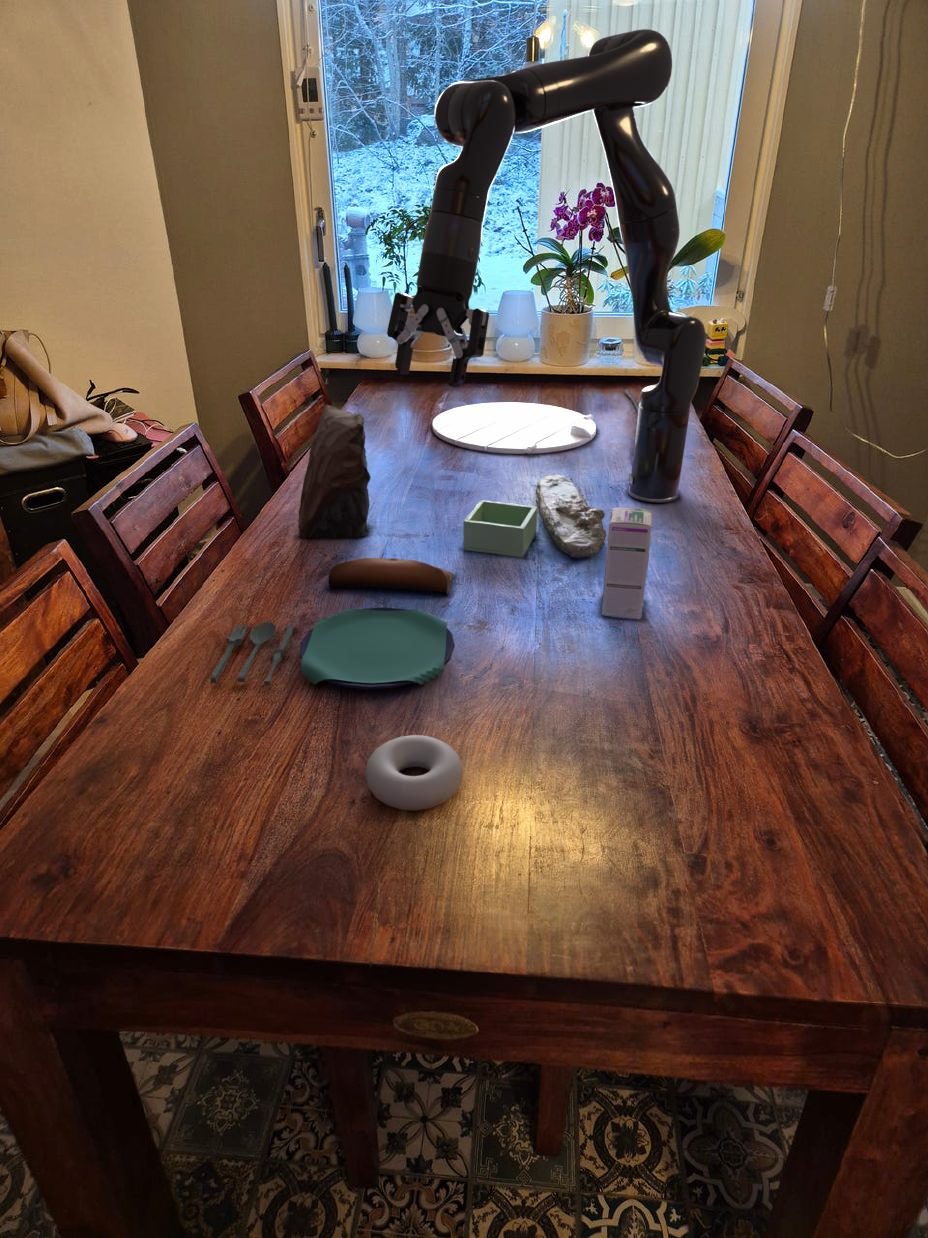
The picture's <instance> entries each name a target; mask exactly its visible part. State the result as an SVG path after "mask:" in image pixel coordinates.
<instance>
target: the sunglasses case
mask: <svg viewBox="0 0 928 1238" xmlns="http://www.w3.org/2000/svg"><path fill="white" fill-rule="evenodd" d="M453 575H454V574H453V573H452V572H451V571H448V570H446V569H444V568H441V567H437V566H434V565H432V564H429V563H426V562H424V561H419V560H414V559H401V558H396V557H391V558H388V557H387V558H386V557H364V558H355V559H352V560H351V559H350V560H347V561H343V562H339V563H336V564H334V565H333V566H331V568H330V570H329V573H328V581H327V584H328V587H329V589H330V588H357V587H361V588H368V587H374V588H383V589H402V590H409V591H410V590H411V591H426V592H427V591H428V592H439V593H445V594H446V595H449V594H450V591H451V588H452V587H451V586H452V583H453V579H454V578H453Z"/></svg>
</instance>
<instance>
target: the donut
mask: <svg viewBox="0 0 928 1238" xmlns="http://www.w3.org/2000/svg"><path fill="white" fill-rule="evenodd" d="M408 768H409V769H410V768H421V769H426V770H427V771H428V772H425V773H424V774H421V775H406V774H403V773H401V771H402V770H405V769H408ZM364 771H365V772H364V775H365V780H366V784H367V788H368V789H369V791H370V792H371V793H372V794H373V796H374V797H375V798H376V799H377V800H378V801H380V802H382V803H383V804H384V805H386V806H388V807H392V808H394V809H398V810H401V811H421V810H422V811H423V810H428V809H431V808H434V807H437V806H439V805H442V804H443V803H445V802H447V800H449V799H450V798H451V797H453V796H454V795H455V793H456V792H457V790H458V788H459V787H460V785H461V783H462V780H463V771H464V770H463V764H462V761H461V758H460V756H459V754H458V752H457V751H455V750H454V749H453V748H452V747H451V745H450V744H447V743H445V742H444V741H442V740H440V739H439V738H435V737H432V736H429V735H422V734H421V735H420V734H418V735H417V734H410V735H403V736H398V737H396V738H392V739H391V740H387V741H386V742H384V743H383V744H381V745H380V746H378V747H376V749H375V750H374V751H373V753H372V754H371V755H370V756H369V758H368V760H367V764H366V766H365V770H364Z"/></svg>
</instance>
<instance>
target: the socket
mask: <svg viewBox="0 0 928 1238" xmlns="http://www.w3.org/2000/svg"><path fill="white" fill-rule="evenodd" d="M537 522H538V506H536V505H535V506H534V505H528V504H527V505H526V504H518V503H509V502H501V501H493V500H483V499H480V500H479V501H478V502H477V504H476V505H475V506H474V507H473V509H472V510H471V511H470V513H468V515H467V516H466V518H465V519H464V520H463V534H462V535H463V537H462V539H463V540H462V541H463V542H462V543H463V546H462V548H463V551H470V552H476V553H477V552H478V553H484V554H492V555H500V556H507V557H515V558H522V559H523V558H524V556H525V555H526V552H527V550H528V549H529V547H530V546H531V544H532V543H533V540H534V539H535V537H536V535H537V524H538V523H537Z"/></svg>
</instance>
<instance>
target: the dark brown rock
mask: <svg viewBox="0 0 928 1238" xmlns="http://www.w3.org/2000/svg"><path fill="white" fill-rule="evenodd" d="M318 421H319V422H318V425H317V428H316V431H315V433H314V436H313V439H312V442H311V445H310V449H309V455H308V456H309V457H308V462H307V466H306V472H305V475H304V478H303V483H302V489H301V494H300V504H299V508H298V520H297V521H298V522H297V523H298V525H297V528H298V532H299V533H298V539H361V538H365V537H368V536H369V533H370V527H369V526H368V523H367V522H368V516H369V511H370V497H369V495H370V494H369V489H368V485H369V482H370V481H371V477H372V476H371V474H370V472H369V470H368V462H367V455H366V453H367V452H366V446H365V444H366V433H365V427H364V424H365V417H364V416H363V415H362V414H361V413H353V412H349V411H343V410H340V409H338V407H335V406H334V405H328V404H325V405H324V407H323V411H322V413H321V416H320V418H319V420H318Z"/></svg>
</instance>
